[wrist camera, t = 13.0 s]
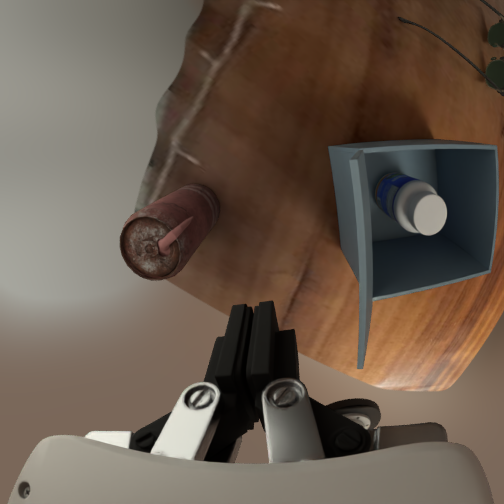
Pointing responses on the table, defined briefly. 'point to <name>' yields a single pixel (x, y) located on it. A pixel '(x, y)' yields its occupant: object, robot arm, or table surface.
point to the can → (168, 231)
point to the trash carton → (416, 244)
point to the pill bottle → (411, 203)
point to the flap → (363, 249)
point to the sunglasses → (498, 71)
